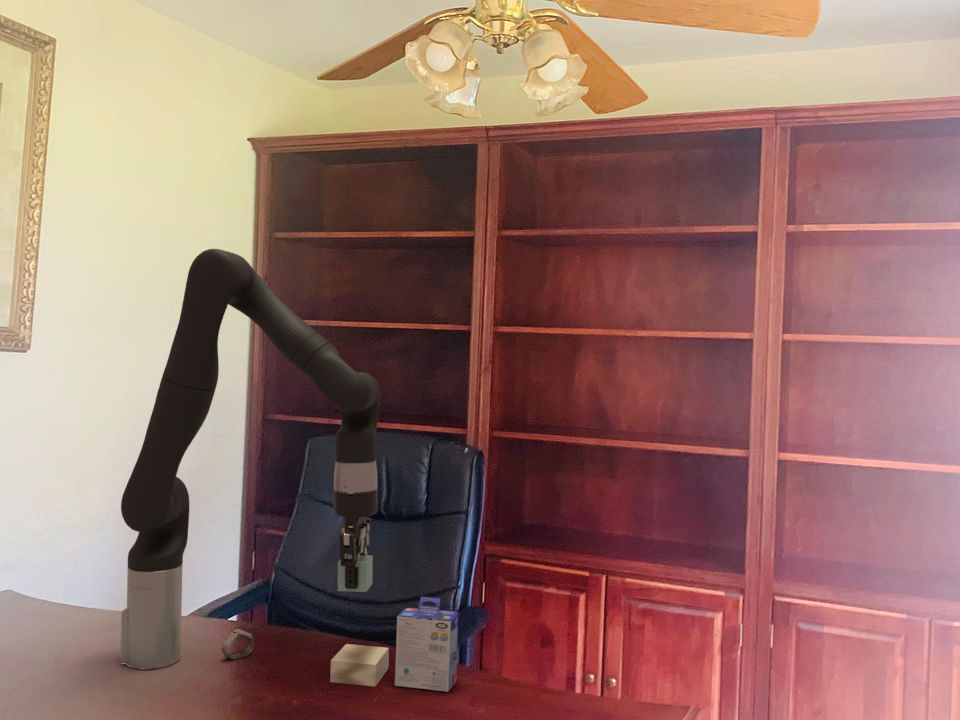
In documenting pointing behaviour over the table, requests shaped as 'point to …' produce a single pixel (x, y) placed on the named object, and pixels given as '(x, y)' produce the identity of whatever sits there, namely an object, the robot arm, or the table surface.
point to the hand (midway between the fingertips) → (355, 583)
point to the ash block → (359, 665)
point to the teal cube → (363, 576)
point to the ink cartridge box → (426, 647)
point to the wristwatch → (232, 638)
